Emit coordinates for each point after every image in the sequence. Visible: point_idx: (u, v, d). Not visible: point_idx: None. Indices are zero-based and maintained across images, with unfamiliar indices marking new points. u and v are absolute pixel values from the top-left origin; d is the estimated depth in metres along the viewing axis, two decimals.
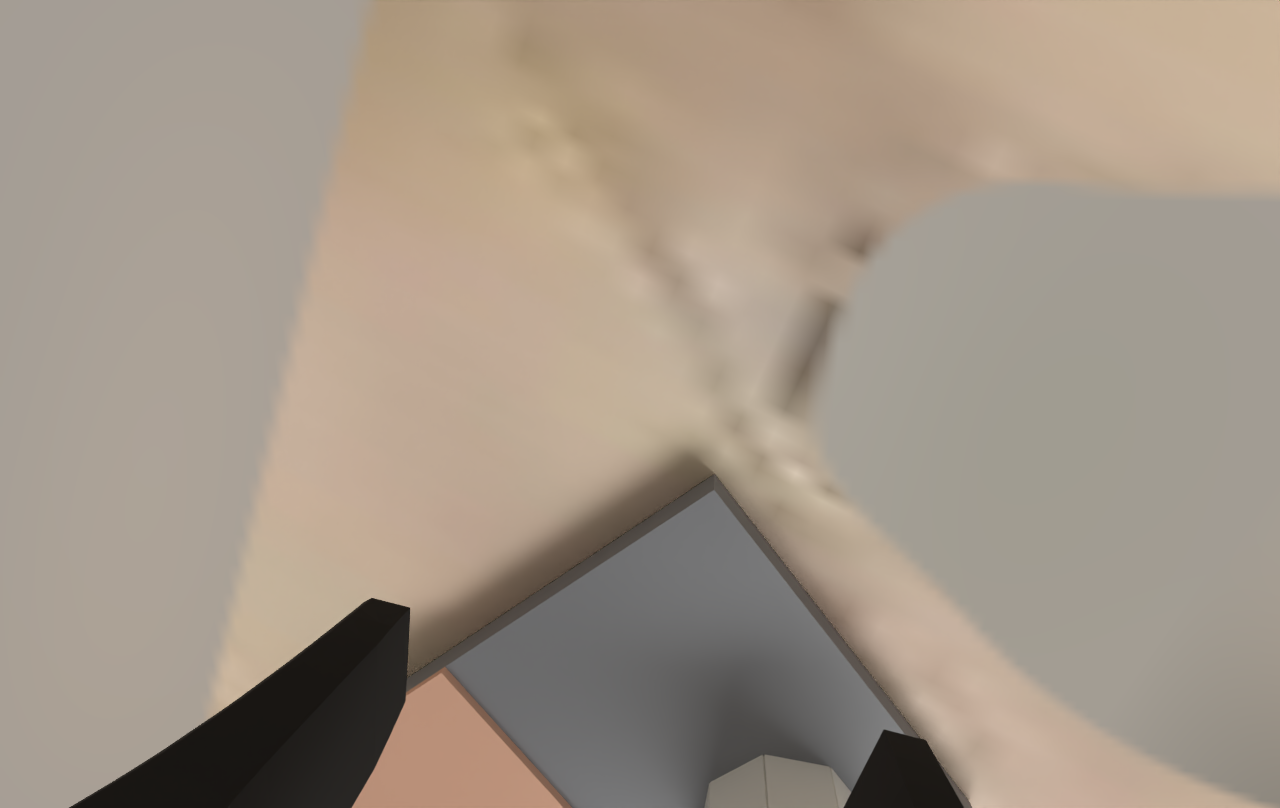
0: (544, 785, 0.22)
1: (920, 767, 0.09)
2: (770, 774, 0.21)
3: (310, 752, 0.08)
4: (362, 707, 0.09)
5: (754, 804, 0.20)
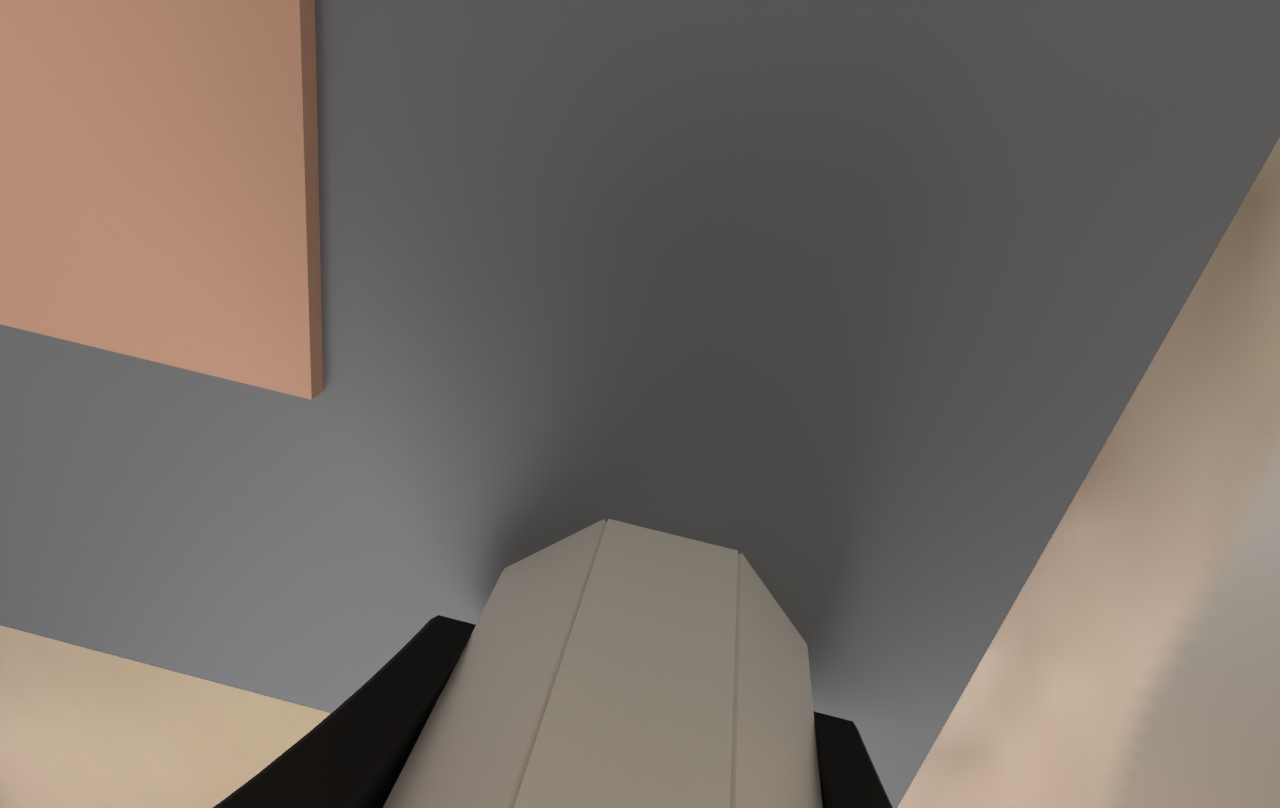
0: (309, 272, 0.09)
1: (843, 747, 0.09)
2: (745, 593, 0.10)
3: (394, 775, 0.08)
4: None
5: (706, 623, 0.09)
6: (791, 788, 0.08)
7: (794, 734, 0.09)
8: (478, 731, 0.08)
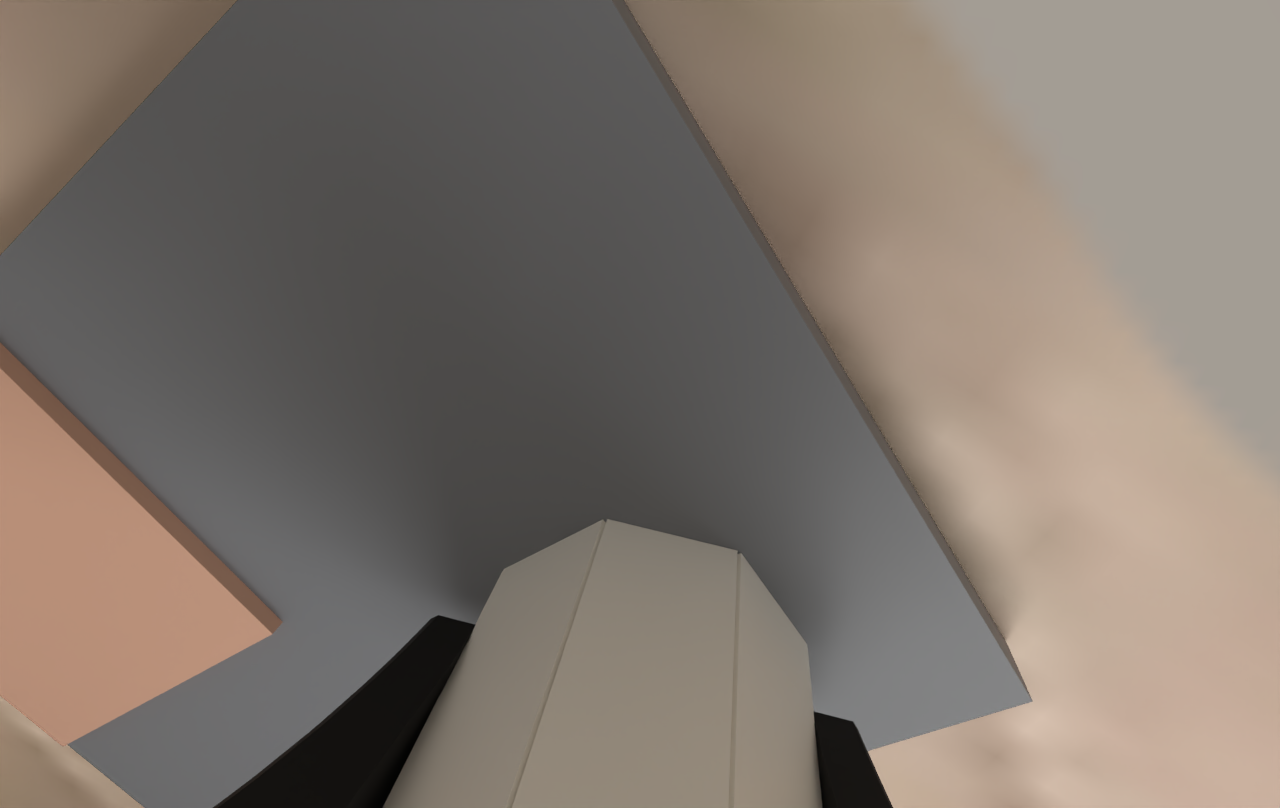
0: (194, 554, 0.12)
1: (843, 747, 0.09)
2: (745, 593, 0.10)
3: (393, 774, 0.08)
4: None
5: (705, 624, 0.09)
6: (790, 788, 0.08)
7: (794, 735, 0.09)
8: (476, 732, 0.08)
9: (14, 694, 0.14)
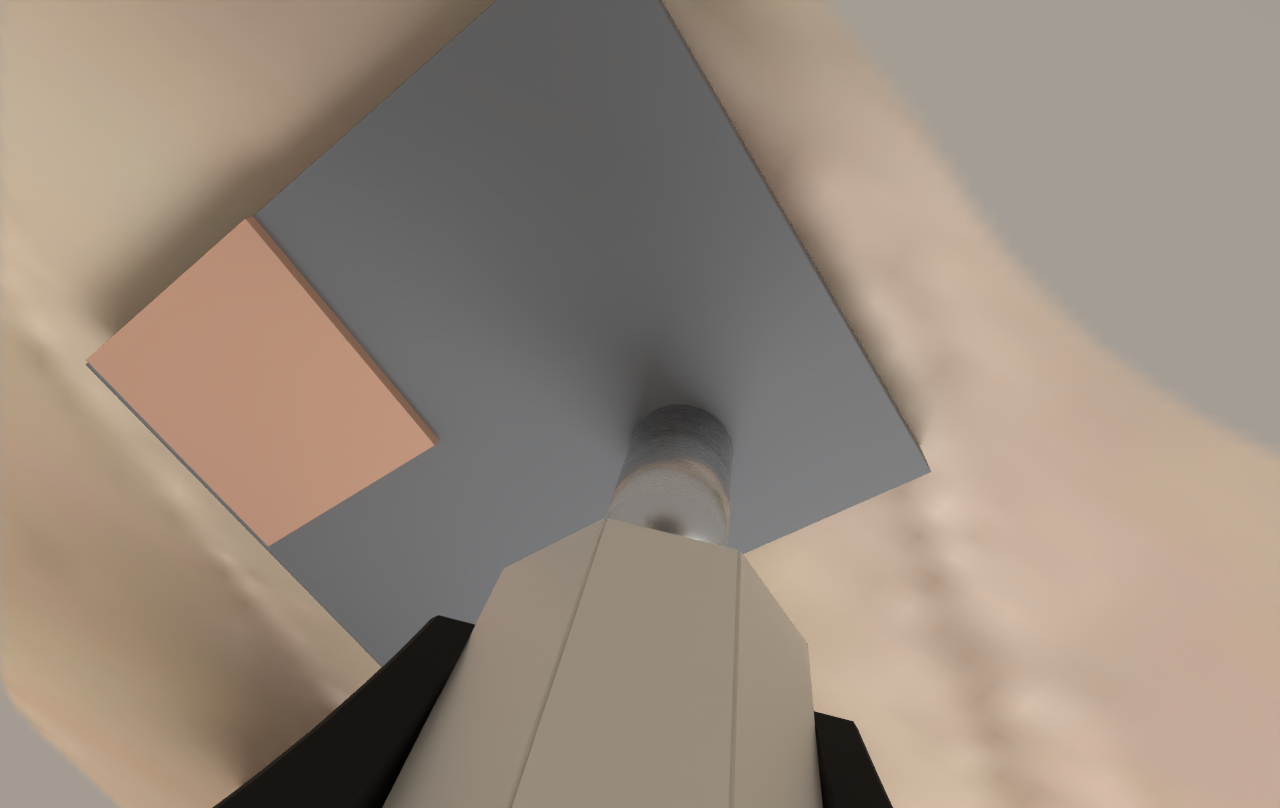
0: (388, 388, 0.18)
1: (843, 747, 0.09)
2: (745, 591, 0.10)
3: (393, 774, 0.08)
4: None
5: (705, 623, 0.09)
6: (791, 787, 0.08)
7: (795, 734, 0.09)
8: (477, 731, 0.08)
9: (239, 504, 0.20)
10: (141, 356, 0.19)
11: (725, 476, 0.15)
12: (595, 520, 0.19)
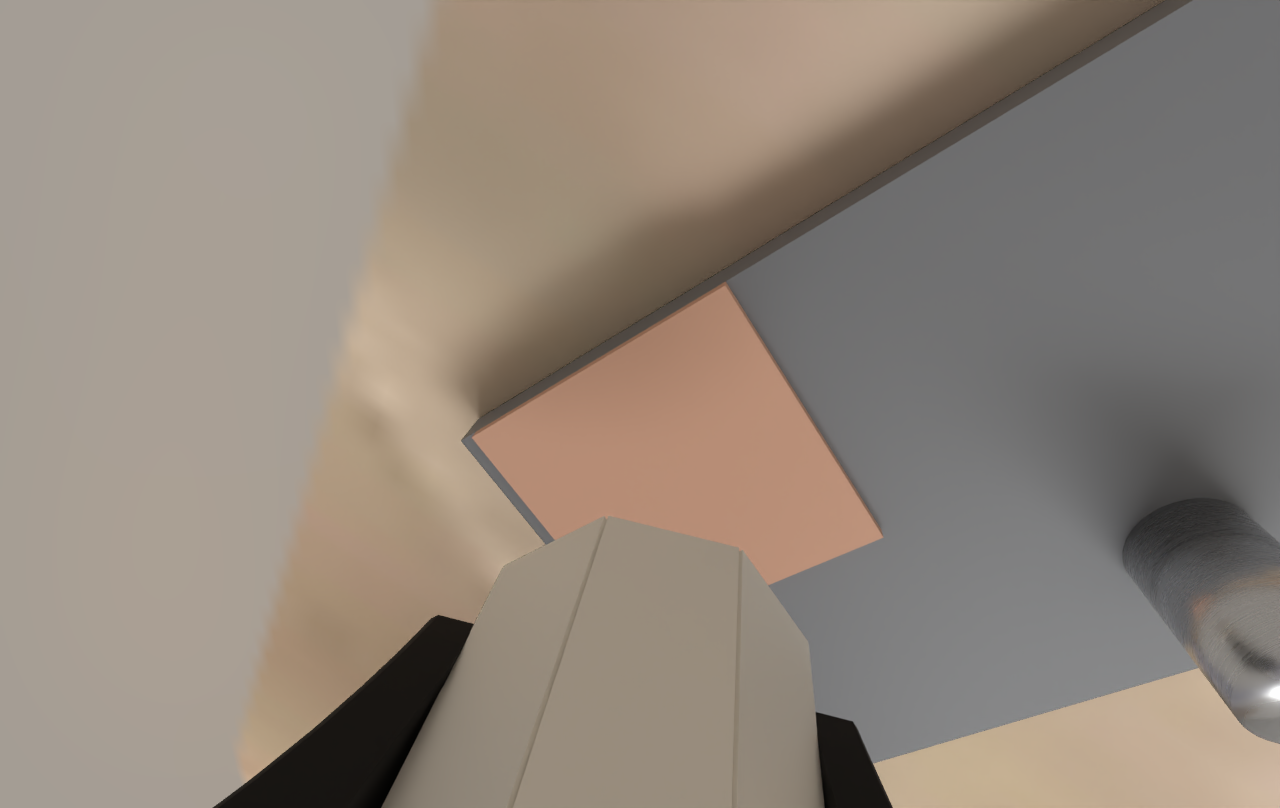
0: (844, 474, 0.15)
1: (843, 747, 0.09)
2: (747, 590, 0.10)
3: (393, 774, 0.08)
4: None
5: (707, 621, 0.09)
6: (793, 786, 0.08)
7: (796, 732, 0.09)
8: (477, 729, 0.08)
9: None
10: (542, 435, 0.16)
11: None
12: (1049, 619, 0.17)
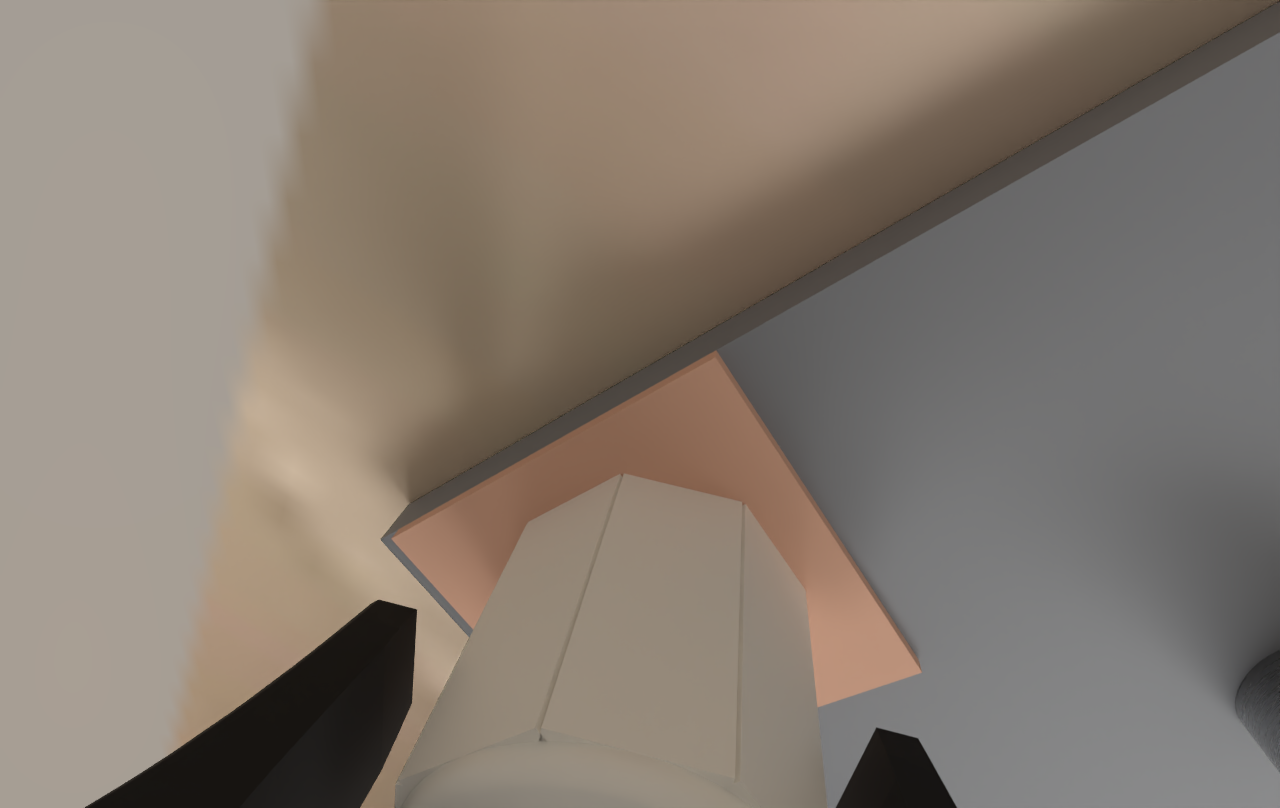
0: (872, 596, 0.12)
1: (912, 765, 0.09)
2: (749, 537, 0.11)
3: (319, 754, 0.08)
4: (369, 709, 0.09)
5: (715, 561, 0.10)
6: (790, 700, 0.09)
7: (794, 659, 0.10)
8: (514, 646, 0.09)
9: None
10: (481, 538, 0.12)
11: None
12: (1132, 771, 0.13)
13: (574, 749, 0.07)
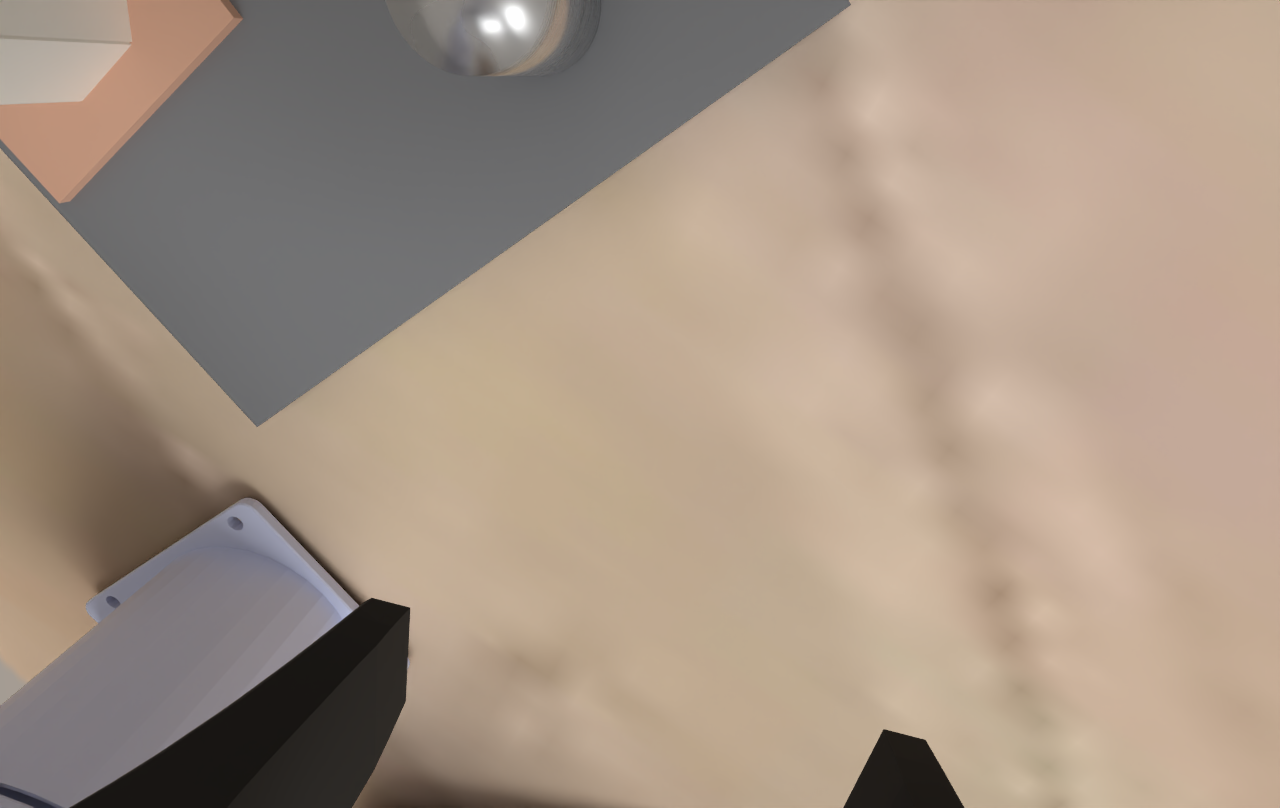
0: None
1: (920, 767, 0.09)
2: None
3: (310, 752, 0.08)
4: (362, 707, 0.09)
5: None
6: None
7: None
8: None
9: (17, 140, 0.16)
10: None
11: None
12: (443, 130, 0.15)
13: None
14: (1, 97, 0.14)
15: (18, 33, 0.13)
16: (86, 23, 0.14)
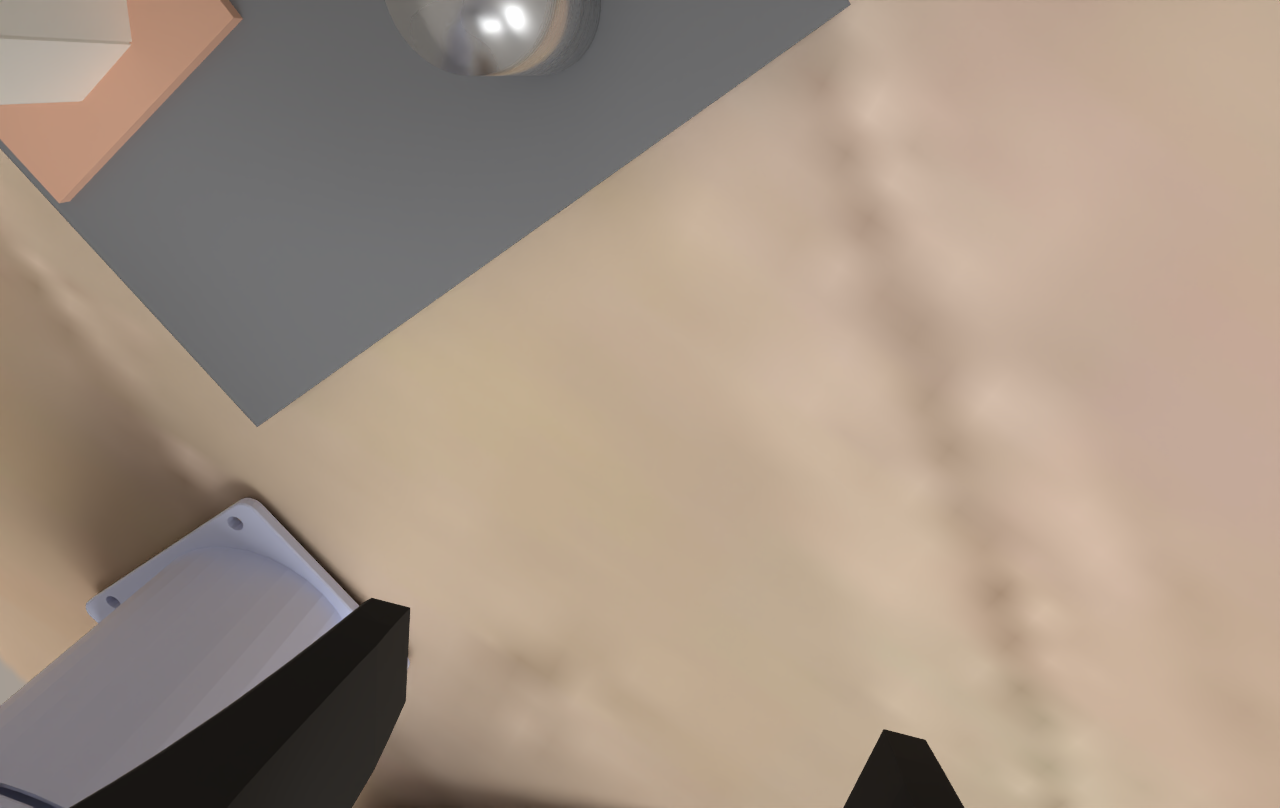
0: None
1: (920, 767, 0.09)
2: None
3: (310, 752, 0.08)
4: (362, 707, 0.09)
5: None
6: None
7: None
8: None
9: (17, 140, 0.16)
10: None
11: None
12: (443, 130, 0.15)
13: None
14: (1, 97, 0.14)
15: (18, 33, 0.13)
16: (86, 23, 0.14)
